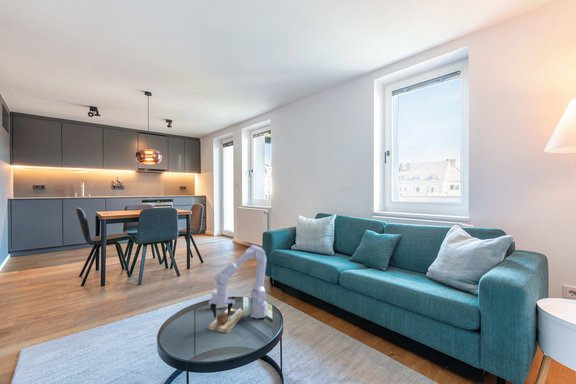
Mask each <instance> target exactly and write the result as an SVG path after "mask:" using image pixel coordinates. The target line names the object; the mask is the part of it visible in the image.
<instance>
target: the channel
mask: <svg viewBox="0 0 576 384" xmlns="http://www.w3.org/2000/svg"><path fill="white" fill-rule="evenodd" d="M225 310H226V311H225ZM225 310H224V311H225V313H228V308H226V309H225ZM241 310H242V308H241V307H240V308H239V309H237V311H236V312H235V313H234V314H233V315H232V316H231V317H230V321H232V320H233V319H234V318H235V317H236V316H237V315H238V314H239V313H240V312H241Z"/></svg>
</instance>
